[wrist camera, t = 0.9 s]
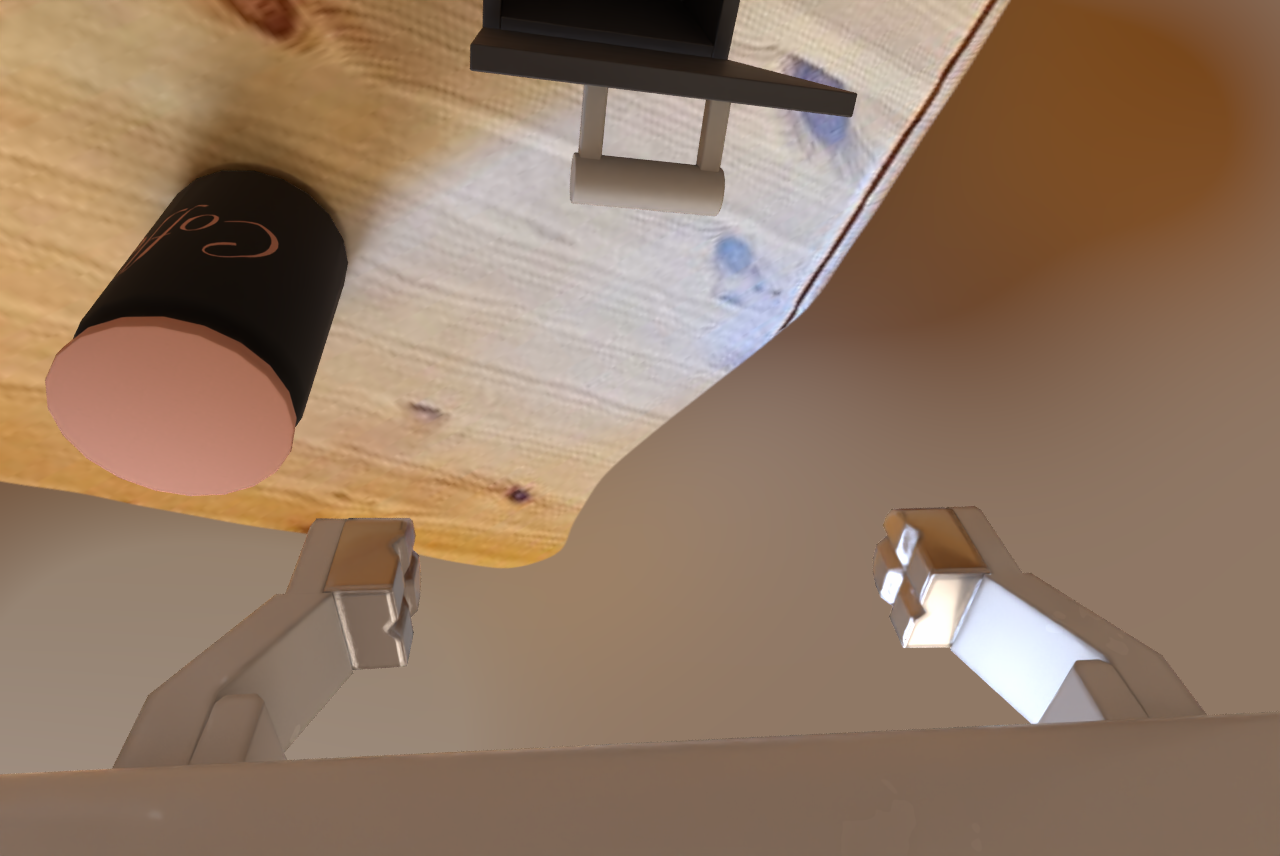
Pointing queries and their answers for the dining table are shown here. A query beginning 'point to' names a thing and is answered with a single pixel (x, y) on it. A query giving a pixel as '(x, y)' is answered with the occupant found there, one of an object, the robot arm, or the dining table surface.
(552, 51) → the lid
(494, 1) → the dark grey box
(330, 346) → the dining table surface
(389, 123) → the dining table surface
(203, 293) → the coffee jar
